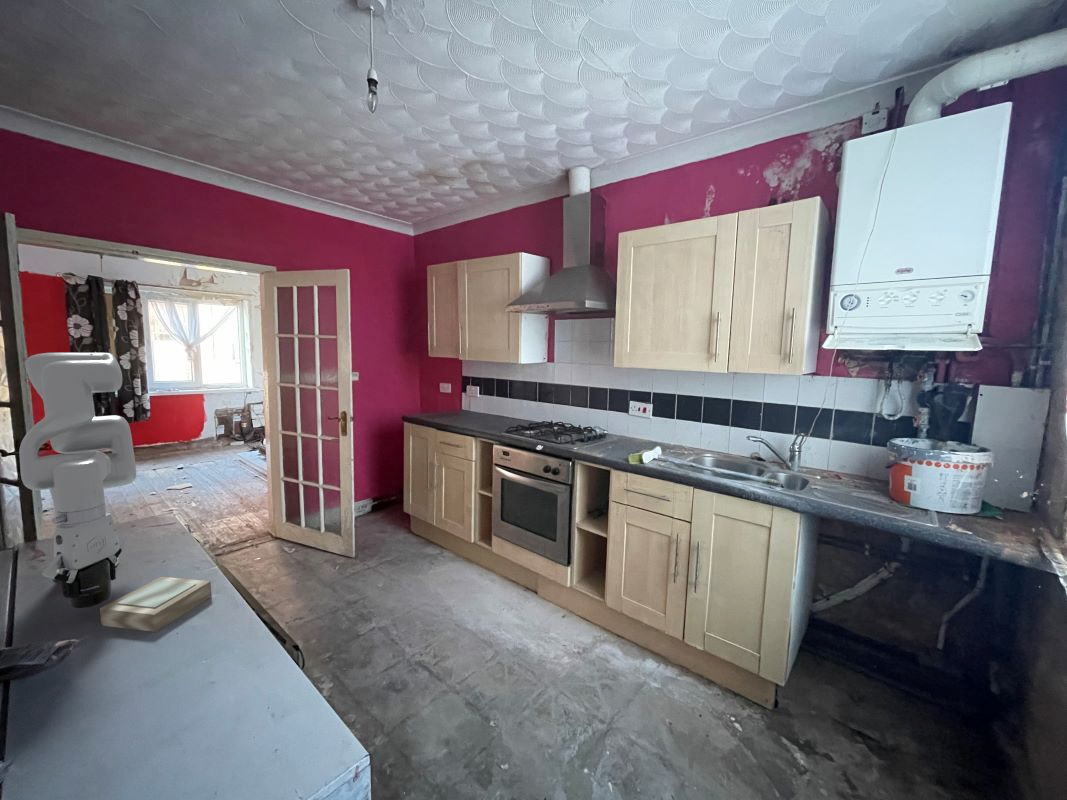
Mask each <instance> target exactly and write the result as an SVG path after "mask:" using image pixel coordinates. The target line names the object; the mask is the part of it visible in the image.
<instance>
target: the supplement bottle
mask: <svg viewBox="0 0 1067 800" xmlns="http://www.w3.org/2000/svg"><path fill="white" fill-rule="evenodd" d="M69 571H70V570H69ZM68 574H69V572H68ZM74 580H76V581H78V588H79V597H78V598H76V599H74V598H69V599H70V600H69V601H70V606H71V607H72V608H74V609H86V608H91V607H95V606H97V605H101V604H103V603H104V602H106V601H108V600H109V599H110V598H111V597H112V595H113V588H112V580H111V574H110V563H109V561H108V560H107V559H103V560H101V561H98V562H96V563H94V564H91V565H89V566H87V567H84V568H82V569H79V570H78V571H77V574H76V576H75V579H74Z"/></svg>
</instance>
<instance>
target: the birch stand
mask: <svg viewBox="0 0 1067 800" xmlns="http://www.w3.org/2000/svg"><path fill="white" fill-rule="evenodd" d="M211 585H212V584H211V581H210V580H199V579H190V578H188V579H187V578H179V577H171V576H169V577H168V576H160V577H158V578H156V579H154V580H152V581H151V582H148V583H147V584H144V585H142V586H141V587H139V588H137V589H135V590H133V591H131V592H129V593H127V594H125V595H123V596H122V597H119V598H117V599H115V600H113V601H112V602H110V603H108V604H106V605H103V606H102V607H99V614H100V623H101V626H103V627H110V628H114V627H115V628H120V629H129V630H137V631H144V632H151V633H153V632H154V633H156V632H158V631H160V630H161V629H163V628H164V627H166V626H168V625H169V624H171V623H172V622H174V621H175V619H176V620H177V619H178V618H180V617H182V616H184V615H186V614H187V613H189V611H191V610H193V609H195V608H196V607H198V606H199V605H200V603H201V604H202V603H204V602H206V601H207V600H209V599H210V598H212V597H211V596H212V594H213V593H212V586H211ZM208 598H209V599H208ZM206 599H207V600H206ZM205 600H206V601H205ZM203 601H204V602H203ZM197 605H198V606H197ZM195 606H196V607H195ZM194 607H195V608H194ZM192 608H193V609H192ZM186 612H187V613H186Z"/></svg>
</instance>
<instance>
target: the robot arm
mask: <svg viewBox="0 0 1067 800" xmlns="http://www.w3.org/2000/svg"><path fill="white" fill-rule="evenodd" d="M25 370H26V373H27V376H28V379H29V381H30V383H31V385H32V386H33V388H34V389H35V391H36V393H37V394H38V395H39V396H40V397H41V399H42V402H43V410H44V417H43V418H42V419H40V421H37V423H35V424H34V425H33V426H32V427H31V428H30V429H29V430H28V431H27V432H26V434H25V436H24V437H23V439H22V440H21V443H20V446H19V466H20V467H19V468H20V477H21V481H22V483H23V485H24V486H25V487H26V489H28V490H31V491H44V490H49V493H50V495H51V498H52V503H53V508H54V514H55V517H53V518H52V519H51V523H52V524H53V525H55V531H54V536H53V560H52V561H51V562H50V563H49V564H48V565H47V567H45V569H44V570H43V571H42V574H41V575H42V576H43V577H46V578H48V579H50V580H54V581H56V582H58V583H59V582H60V583H61V590H62V595H63V596H64V598H67V599H70V598H74V599H76V598H78V597H79V588H78V581H76V580H74V579H75V576H76V574H77V571H78V570H79V569H82V568H84V567H87V566H89V565H91V564H94V563H96V562H98V561H101V560H103V559H107V560H108V561H109V563H110V574H111V581H115V580H116V579H117V577H116V576H117V572H116V567H117V566H118V565H119V563H120V560H119V556H120V554H121V553H122V552H123V549H124V547H125V545H126V544H127V539H124V538H121V537H119V535H118V531H117V526H116V523H115V521H114V519H113V516H112V514H111V513H110V512H107V509H106V499H105V491H104V490H105V489H106V490H107V489H111V488H116V487H123V486H127V485H130V484H132V483H133V482H135V479H136V477H137V465H136V459H135V453H134V444H133V438H132V432H131V427H130V424H129V422H128V421H127V420H126V418H125V417H123V416H121V415H103V416H102V415H100V416H99V415H98V416H96V412H95V411H96V410H95V403H94V398H93V397H94V396H93V393H110V392H111V393H112V392H117V391H119V390H121V388H122V385H123V374H122V369H121V366H120V364H119V362H118V360H117V358H116V356H114V354H112V353H109V352H44V353H37V354H34V355H30V356H29V357H27V359H26V360H25ZM48 441H50V445H51V447H52V450H53V451H54V452H56V453H59V454H51V455H45V456H44V455H43V456H38V455H39V454H38V452H39V449H41V447H42V446H43V445H44V444H45V443H46V442H48ZM105 450H107V451H111V453H105V452H103V451H105ZM69 570H70V571H69ZM68 572H69V574H68Z"/></svg>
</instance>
